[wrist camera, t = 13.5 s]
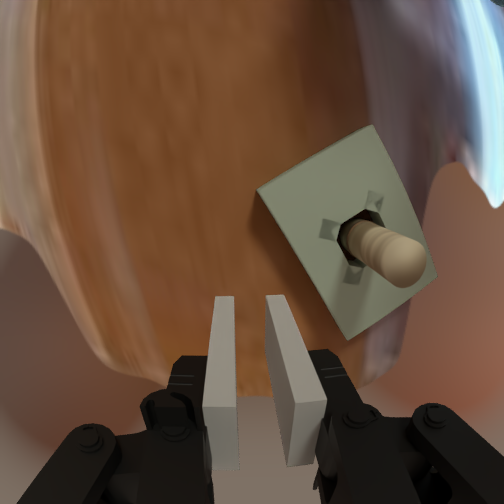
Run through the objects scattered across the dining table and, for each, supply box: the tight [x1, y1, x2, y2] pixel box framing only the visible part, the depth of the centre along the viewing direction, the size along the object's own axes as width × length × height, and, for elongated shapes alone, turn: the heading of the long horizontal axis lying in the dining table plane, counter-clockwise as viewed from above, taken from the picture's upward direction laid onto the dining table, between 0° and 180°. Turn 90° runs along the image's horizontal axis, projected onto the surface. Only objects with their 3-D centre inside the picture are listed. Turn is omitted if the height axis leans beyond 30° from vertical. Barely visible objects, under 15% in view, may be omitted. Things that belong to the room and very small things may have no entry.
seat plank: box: [256, 125, 438, 341], centre depth 32 cm, size 20×14×3 cm
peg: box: [340, 218, 427, 288], centre depth 27 cm, size 4×4×12 cm
